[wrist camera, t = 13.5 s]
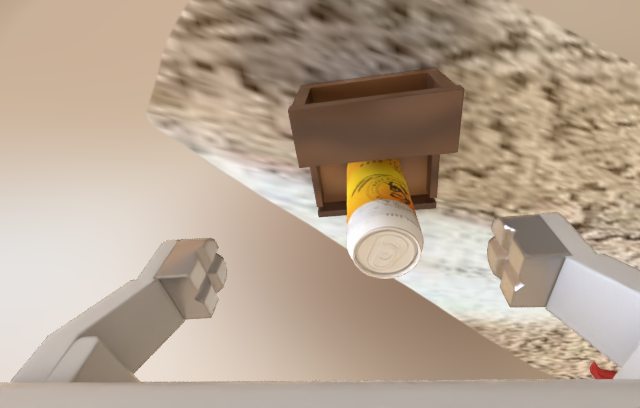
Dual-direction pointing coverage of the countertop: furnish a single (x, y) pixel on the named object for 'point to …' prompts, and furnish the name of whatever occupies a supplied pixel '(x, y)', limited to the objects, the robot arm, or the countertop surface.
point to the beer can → (381, 219)
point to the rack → (376, 131)
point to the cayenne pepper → (601, 372)
